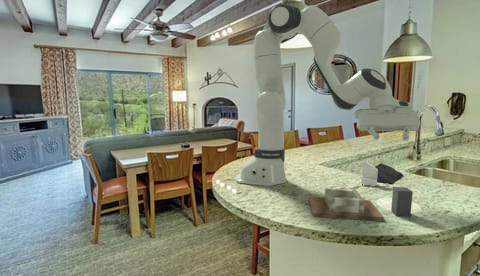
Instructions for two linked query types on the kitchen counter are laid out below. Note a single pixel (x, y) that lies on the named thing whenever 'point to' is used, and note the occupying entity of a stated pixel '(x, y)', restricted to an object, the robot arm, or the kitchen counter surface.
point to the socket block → (344, 206)
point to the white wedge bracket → (369, 174)
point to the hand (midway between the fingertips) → (391, 138)
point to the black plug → (401, 201)
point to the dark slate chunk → (387, 174)
